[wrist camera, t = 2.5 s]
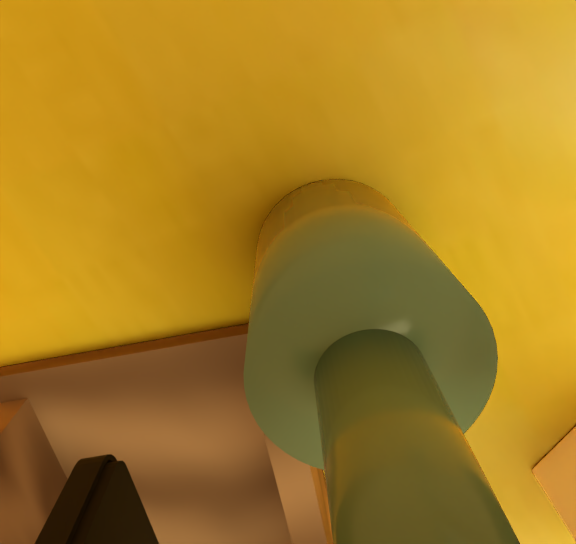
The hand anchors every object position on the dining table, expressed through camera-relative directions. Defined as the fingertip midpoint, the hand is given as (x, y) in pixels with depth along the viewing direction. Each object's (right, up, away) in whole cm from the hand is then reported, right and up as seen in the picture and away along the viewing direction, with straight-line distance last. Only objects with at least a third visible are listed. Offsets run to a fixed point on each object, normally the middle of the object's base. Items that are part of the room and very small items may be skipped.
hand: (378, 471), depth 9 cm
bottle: (0, +4, +9) cm, 10 cm away
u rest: (-6, -5, +13) cm, 16 cm away
